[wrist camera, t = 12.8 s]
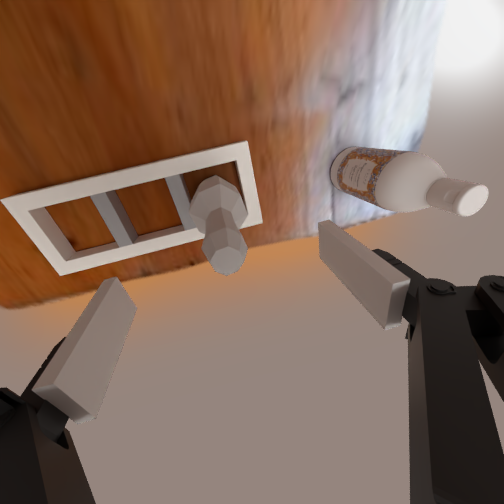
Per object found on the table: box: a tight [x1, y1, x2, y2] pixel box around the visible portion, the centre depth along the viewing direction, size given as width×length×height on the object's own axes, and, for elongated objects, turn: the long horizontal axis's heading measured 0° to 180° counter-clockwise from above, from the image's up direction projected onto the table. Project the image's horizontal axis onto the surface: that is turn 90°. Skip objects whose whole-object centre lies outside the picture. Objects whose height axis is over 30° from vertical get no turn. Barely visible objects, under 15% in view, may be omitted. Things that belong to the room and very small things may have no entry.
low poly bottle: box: [189, 175, 248, 276], centre depth 25 cm, size 6×6×22 cm
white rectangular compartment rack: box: [1, 140, 263, 276], centre depth 33 cm, size 32×12×3 cm, turn 102°
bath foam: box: [331, 147, 488, 216], centre depth 28 cm, size 7×7×20 cm
